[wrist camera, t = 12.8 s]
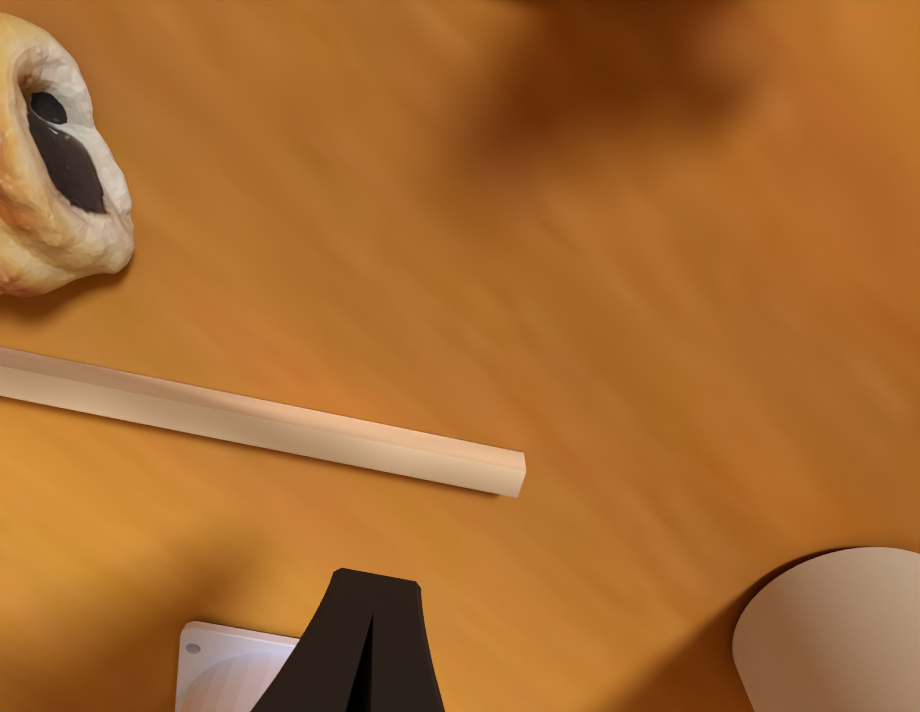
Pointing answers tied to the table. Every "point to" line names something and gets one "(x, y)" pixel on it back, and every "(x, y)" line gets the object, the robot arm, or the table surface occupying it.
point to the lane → (258, 422)
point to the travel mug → (835, 635)
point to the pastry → (54, 171)
